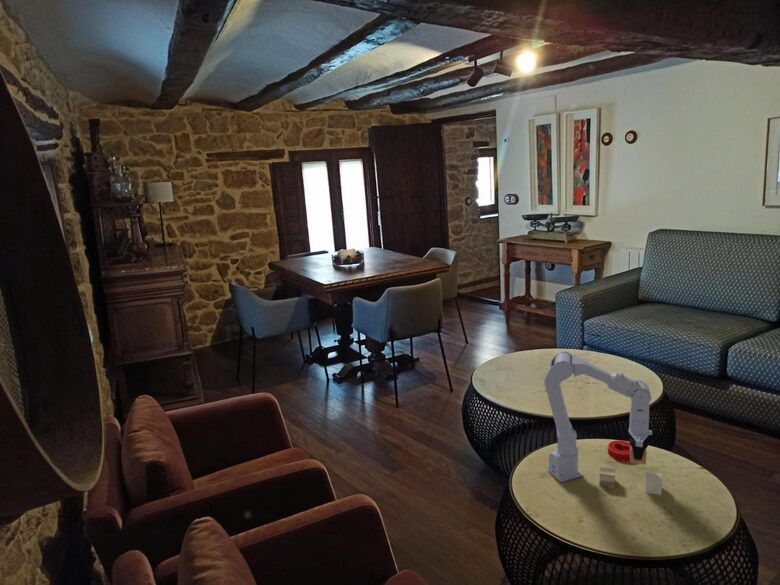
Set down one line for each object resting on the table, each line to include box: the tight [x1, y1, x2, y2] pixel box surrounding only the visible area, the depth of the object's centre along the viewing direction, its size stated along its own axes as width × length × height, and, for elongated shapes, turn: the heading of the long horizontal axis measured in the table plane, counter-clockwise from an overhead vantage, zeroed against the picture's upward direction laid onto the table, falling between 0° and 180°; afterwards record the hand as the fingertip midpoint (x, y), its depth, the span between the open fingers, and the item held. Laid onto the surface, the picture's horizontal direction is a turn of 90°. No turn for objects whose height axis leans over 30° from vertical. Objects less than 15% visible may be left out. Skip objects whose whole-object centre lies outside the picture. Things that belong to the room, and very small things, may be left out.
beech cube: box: [598, 465, 616, 488], centre depth 183 cm, size 5×5×5 cm
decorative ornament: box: [607, 439, 630, 462], centre depth 199 cm, size 10×10×3 cm
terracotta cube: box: [629, 445, 648, 465], centre depth 180 cm, size 5×5×5 cm
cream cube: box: [644, 471, 663, 496], centre depth 177 cm, size 5×5×5 cm
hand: (637, 455), depth 180 cm, fingers closed on terracotta cube, 5 cm apart
